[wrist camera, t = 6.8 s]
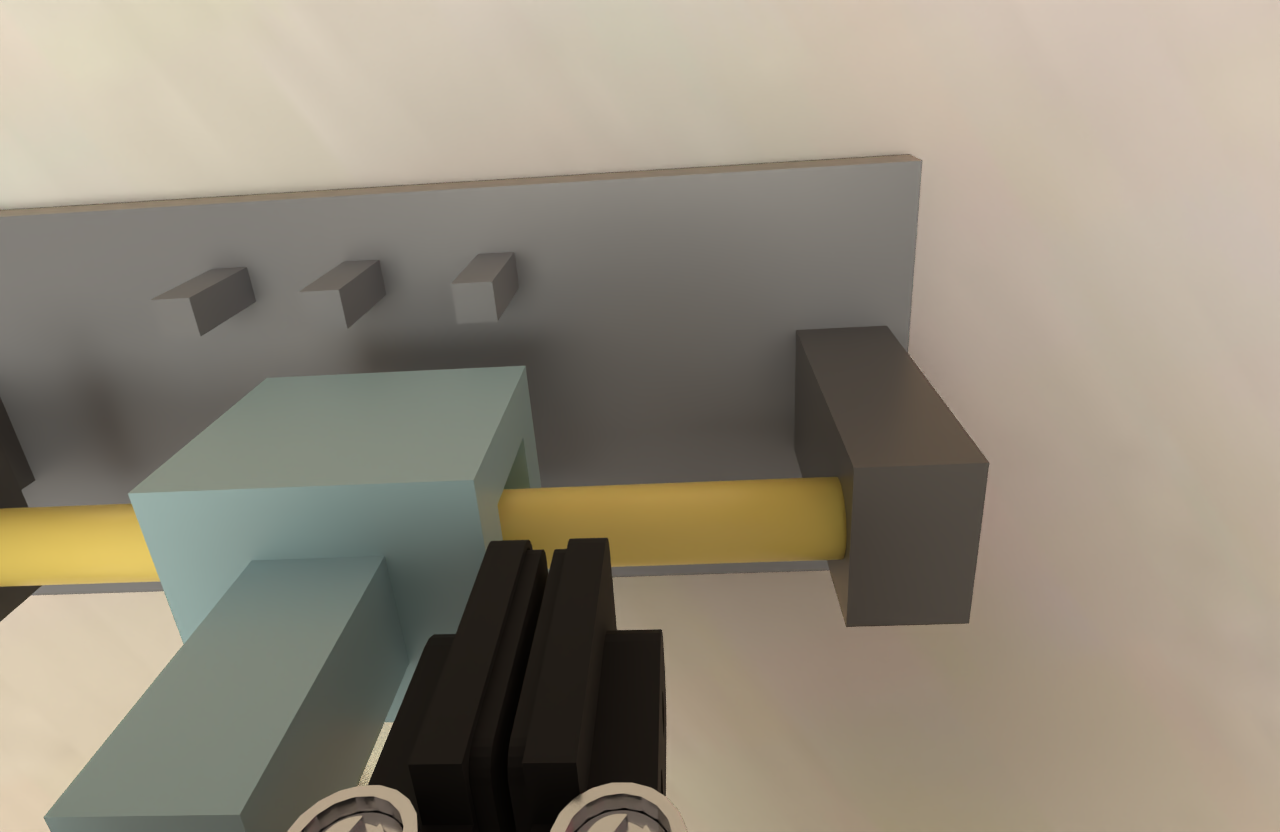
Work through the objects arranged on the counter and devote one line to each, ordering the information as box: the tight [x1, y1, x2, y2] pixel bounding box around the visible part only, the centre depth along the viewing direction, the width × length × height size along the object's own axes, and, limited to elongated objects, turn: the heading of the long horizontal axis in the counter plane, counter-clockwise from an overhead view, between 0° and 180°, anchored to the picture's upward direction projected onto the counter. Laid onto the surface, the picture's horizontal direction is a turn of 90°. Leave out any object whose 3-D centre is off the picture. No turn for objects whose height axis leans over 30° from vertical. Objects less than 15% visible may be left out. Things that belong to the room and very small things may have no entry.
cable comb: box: [0, 154, 989, 627], centre depth 17 cm, size 24×10×8 cm, turn 94°
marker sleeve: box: [44, 366, 549, 832], centre depth 12 cm, size 5×4×9 cm
